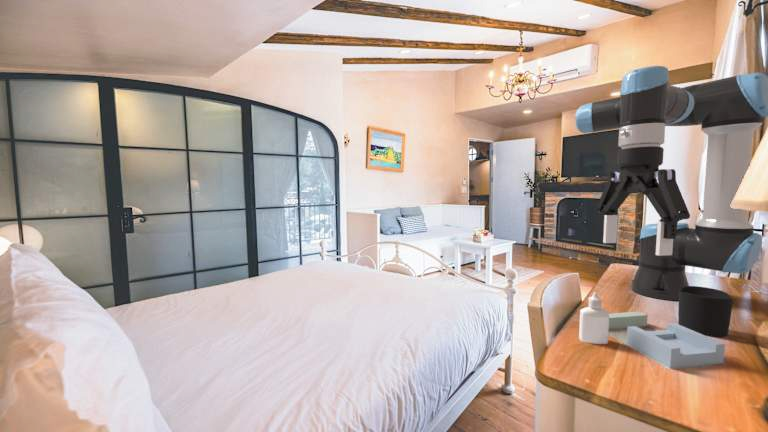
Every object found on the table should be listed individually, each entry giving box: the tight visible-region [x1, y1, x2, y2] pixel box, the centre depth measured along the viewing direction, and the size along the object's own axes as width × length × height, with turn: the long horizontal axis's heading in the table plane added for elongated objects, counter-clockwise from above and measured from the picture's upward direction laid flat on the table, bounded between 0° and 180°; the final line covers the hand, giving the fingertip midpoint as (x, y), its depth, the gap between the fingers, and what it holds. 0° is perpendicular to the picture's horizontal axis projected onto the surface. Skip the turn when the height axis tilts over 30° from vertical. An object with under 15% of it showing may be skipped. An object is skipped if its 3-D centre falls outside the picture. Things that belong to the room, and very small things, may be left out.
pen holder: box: [677, 285, 734, 338], centre depth 80 cm, size 9×9×10 cm
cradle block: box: [626, 322, 726, 368], centre depth 69 cm, size 12×10×4 cm
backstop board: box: [608, 311, 724, 370], centre depth 74 cm, size 13×20×4 cm, turn 7°
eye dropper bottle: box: [578, 291, 610, 345], centre depth 75 cm, size 4×6×12 cm
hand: (634, 248), depth 70 cm, fingers open, 13 cm apart
